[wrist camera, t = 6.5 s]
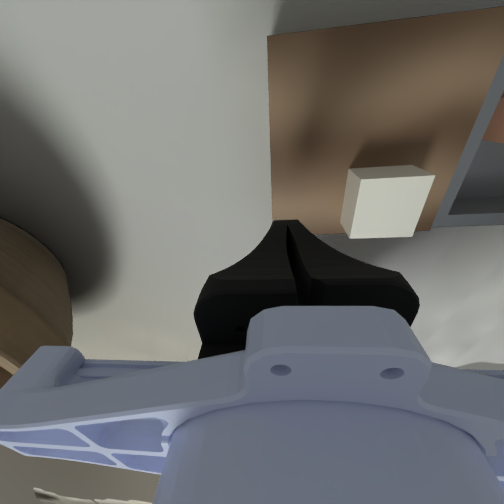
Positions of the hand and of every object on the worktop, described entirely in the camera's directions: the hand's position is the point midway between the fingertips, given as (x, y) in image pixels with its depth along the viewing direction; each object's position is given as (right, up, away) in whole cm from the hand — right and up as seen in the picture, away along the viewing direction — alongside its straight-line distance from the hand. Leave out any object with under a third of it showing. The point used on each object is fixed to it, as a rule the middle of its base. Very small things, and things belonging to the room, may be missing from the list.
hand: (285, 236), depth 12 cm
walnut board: (+6, +8, +5) cm, 11 cm away
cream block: (+7, +3, +4) cm, 8 cm away
